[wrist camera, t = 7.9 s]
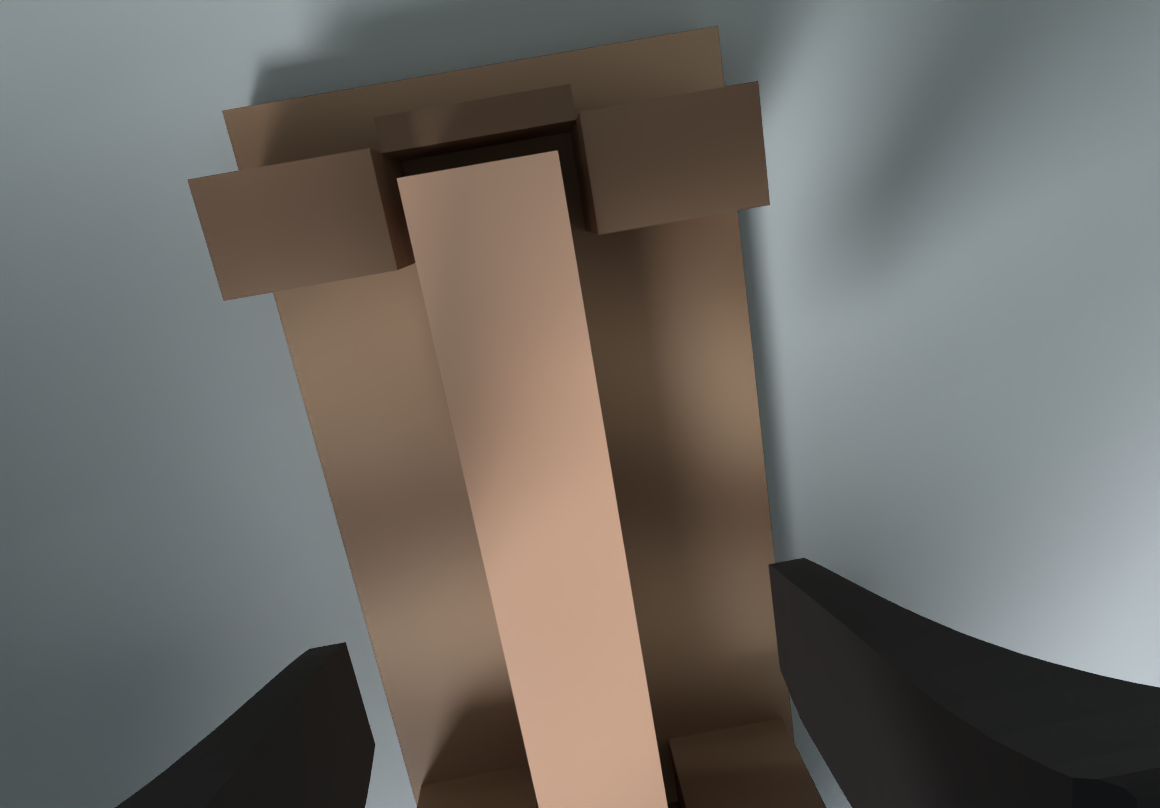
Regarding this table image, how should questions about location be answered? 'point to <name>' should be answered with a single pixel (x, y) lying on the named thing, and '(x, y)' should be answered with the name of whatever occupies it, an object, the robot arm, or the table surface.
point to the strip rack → (623, 374)
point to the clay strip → (538, 472)
